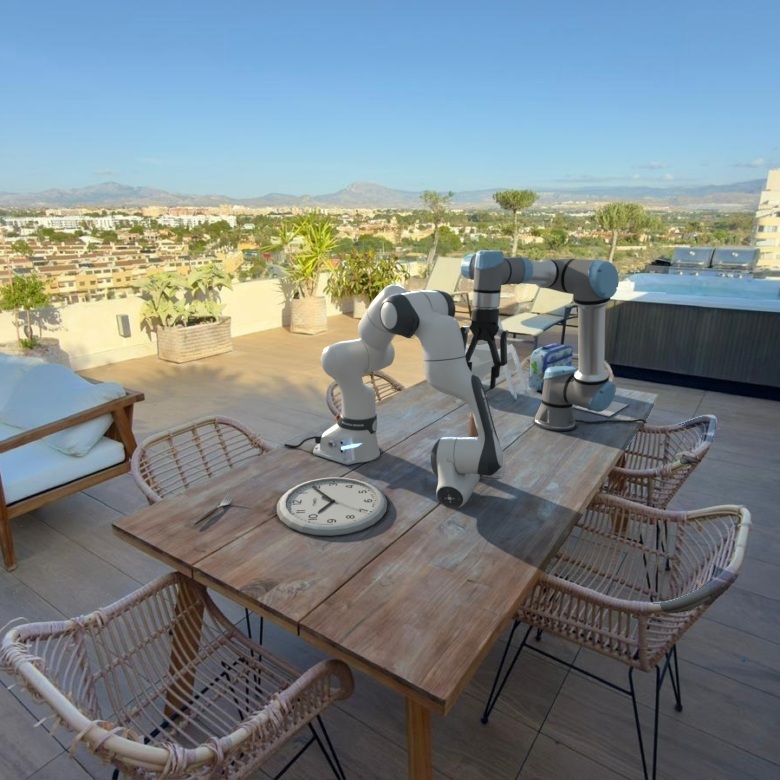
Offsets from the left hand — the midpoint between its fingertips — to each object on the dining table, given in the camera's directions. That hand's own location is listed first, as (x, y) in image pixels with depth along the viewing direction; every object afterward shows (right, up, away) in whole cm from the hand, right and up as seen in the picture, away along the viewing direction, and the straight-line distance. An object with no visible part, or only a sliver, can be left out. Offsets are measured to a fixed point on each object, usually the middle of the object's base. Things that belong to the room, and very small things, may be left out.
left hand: (475, 454), depth 160 cm
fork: (-73, -13, -22) cm, 77 cm away
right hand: (0, +21, -7) cm, 22 cm away
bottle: (0, -7, +1) cm, 7 cm away
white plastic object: (+15, +19, +83) cm, 86 cm away
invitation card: (+65, +12, +66) cm, 93 cm away
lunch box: (+50, +21, +92) cm, 106 cm away
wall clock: (-42, -12, -18) cm, 47 cm away
